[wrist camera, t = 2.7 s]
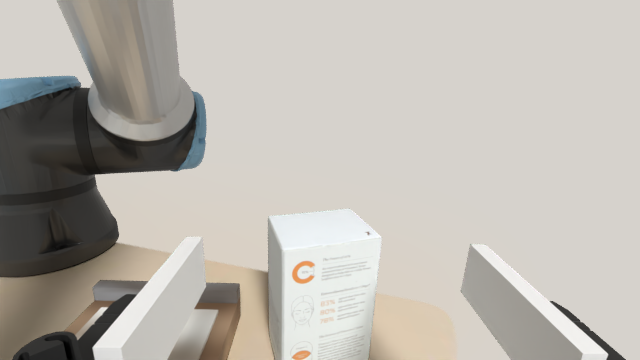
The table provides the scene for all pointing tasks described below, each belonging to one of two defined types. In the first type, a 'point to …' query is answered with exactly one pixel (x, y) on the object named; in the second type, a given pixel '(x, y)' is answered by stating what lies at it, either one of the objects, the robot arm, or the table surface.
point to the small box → (321, 285)
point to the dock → (201, 328)
